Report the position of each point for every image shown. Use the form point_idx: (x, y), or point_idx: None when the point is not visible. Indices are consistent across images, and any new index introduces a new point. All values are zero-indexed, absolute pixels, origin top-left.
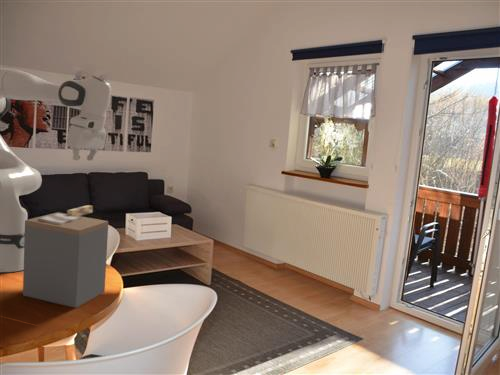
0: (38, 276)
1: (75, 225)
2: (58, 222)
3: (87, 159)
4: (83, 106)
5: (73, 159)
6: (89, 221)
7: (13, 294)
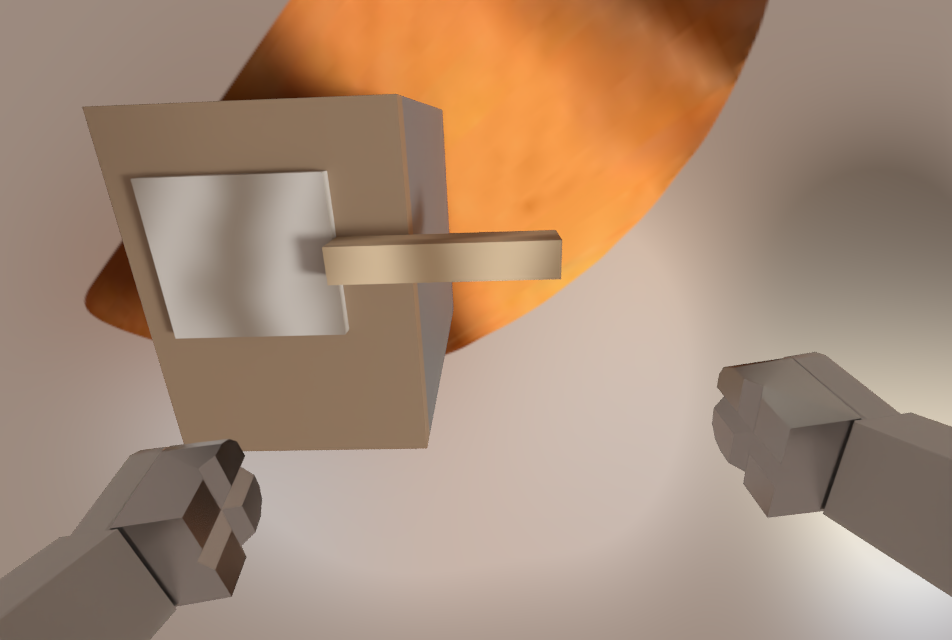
0: None
1: (234, 387)
2: (172, 320)
3: (722, 377)
4: None
5: (152, 457)
6: (351, 387)
7: (272, 79)
